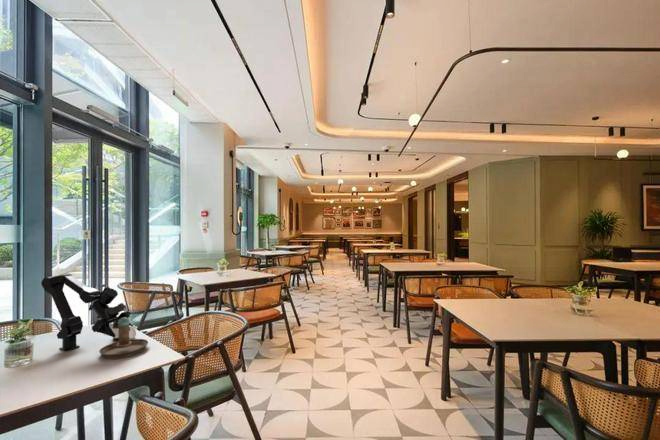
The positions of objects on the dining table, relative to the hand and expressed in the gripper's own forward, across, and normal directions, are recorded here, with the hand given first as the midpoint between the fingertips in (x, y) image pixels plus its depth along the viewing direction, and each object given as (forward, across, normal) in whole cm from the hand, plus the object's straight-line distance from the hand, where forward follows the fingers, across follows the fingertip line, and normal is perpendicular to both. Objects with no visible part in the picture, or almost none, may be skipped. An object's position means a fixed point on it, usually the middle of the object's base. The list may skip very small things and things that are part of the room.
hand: (122, 333), depth 167 cm
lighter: (-15, +27, +28) cm, 42 cm away
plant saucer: (+8, 0, +6) cm, 9 cm away
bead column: (+5, 0, +3) cm, 6 cm away
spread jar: (-4, +18, +17) cm, 25 cm away
